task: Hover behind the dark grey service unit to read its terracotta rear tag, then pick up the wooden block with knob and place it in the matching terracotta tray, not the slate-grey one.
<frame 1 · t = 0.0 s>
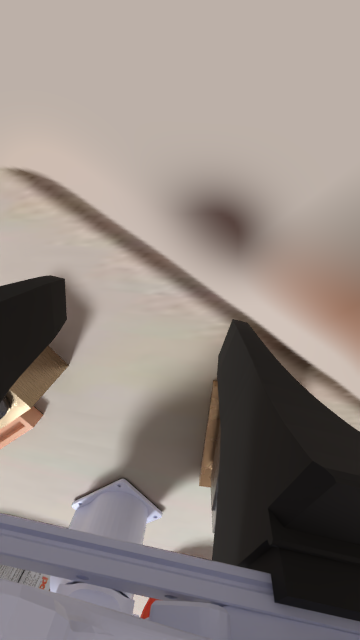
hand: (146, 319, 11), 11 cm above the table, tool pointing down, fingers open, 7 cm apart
service unit: (238, 437, 27), on the table
wooden block with knob: (40, 361, 25), on the table
tin: (21, 547, 39), on the table
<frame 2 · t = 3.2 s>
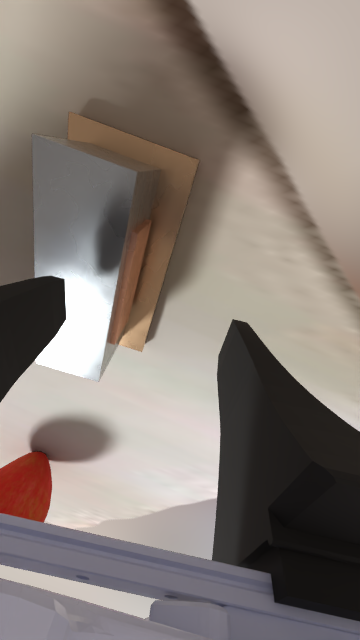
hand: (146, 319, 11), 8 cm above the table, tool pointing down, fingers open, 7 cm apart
service unit: (118, 255, 17), on the table
apple: (41, 454, 34), on the table
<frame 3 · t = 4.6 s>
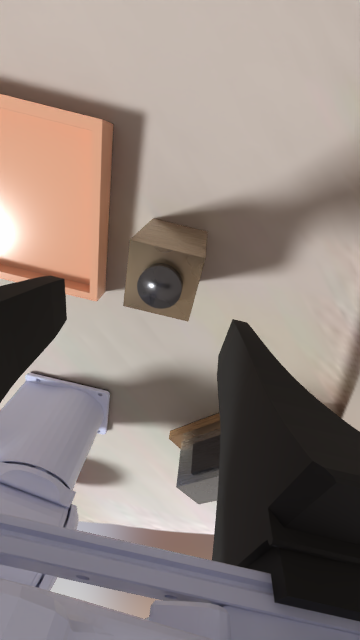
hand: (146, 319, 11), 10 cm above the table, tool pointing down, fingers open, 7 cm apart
terracotta tray: (30, 203, 18), on the table
service unit: (234, 430, 29), on the table
wooden block with knob: (175, 251, 19), on the table
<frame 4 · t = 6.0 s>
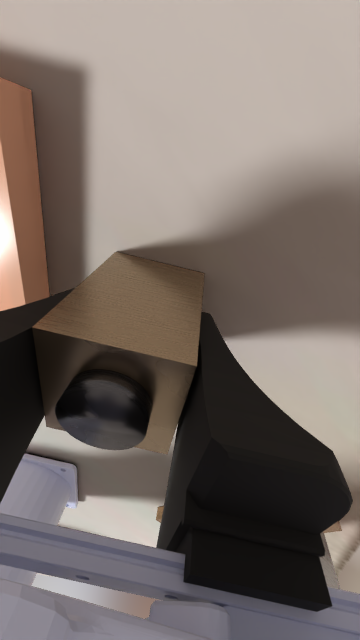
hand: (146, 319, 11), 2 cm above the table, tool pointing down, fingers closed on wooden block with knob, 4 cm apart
service unit: (241, 511, 22), on the table
wooden block with knob: (153, 301, 12), on the table, touching gripper
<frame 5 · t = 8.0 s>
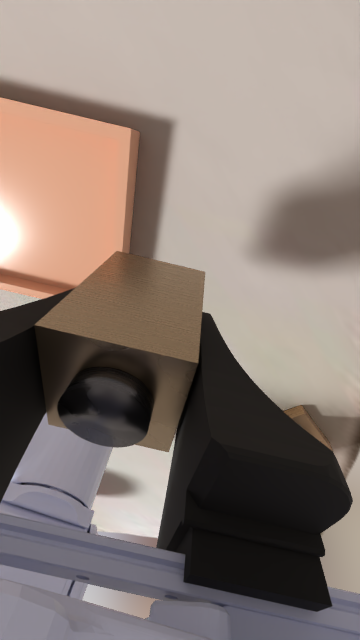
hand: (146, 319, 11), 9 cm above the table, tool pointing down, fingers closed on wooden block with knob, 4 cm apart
terracotta tray: (49, 215, 17), on the table
service unit: (254, 443, 28), on the table
wooden block with knob: (154, 300, 12), point 7 cm above the table, touching gripper
when the fingers open (3 cm above the table, at t = 10.2 s): wooden block with knob drops 1 cm, resting on terracotta tray.
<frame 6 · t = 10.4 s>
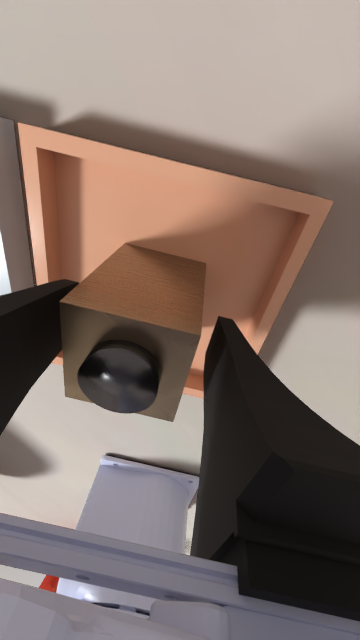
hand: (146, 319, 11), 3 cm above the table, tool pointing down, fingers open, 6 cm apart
terracotta tray: (160, 286, 14), on the table
wooden block with knob: (158, 289, 13), point 1 cm above the table, touching terracotta tray
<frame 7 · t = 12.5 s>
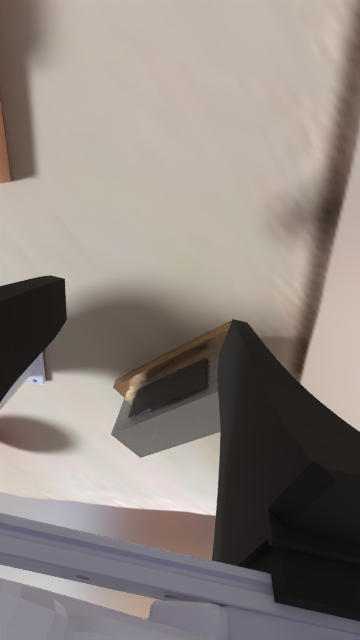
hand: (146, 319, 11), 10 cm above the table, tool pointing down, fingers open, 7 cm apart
service unit: (187, 376, 26), on the table
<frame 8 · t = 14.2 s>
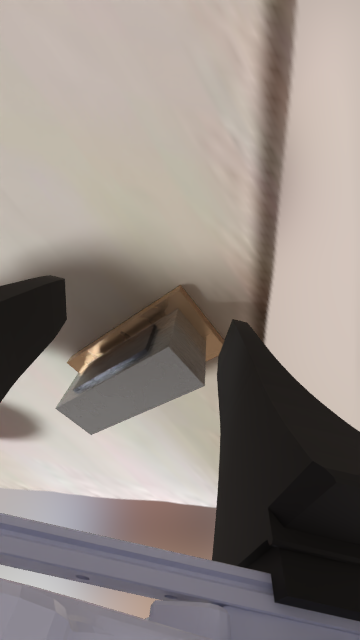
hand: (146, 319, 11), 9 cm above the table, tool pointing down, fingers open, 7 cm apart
service unit: (144, 350, 24), on the table
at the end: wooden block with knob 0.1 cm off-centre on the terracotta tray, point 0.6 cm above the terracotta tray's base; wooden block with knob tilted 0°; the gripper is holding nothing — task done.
